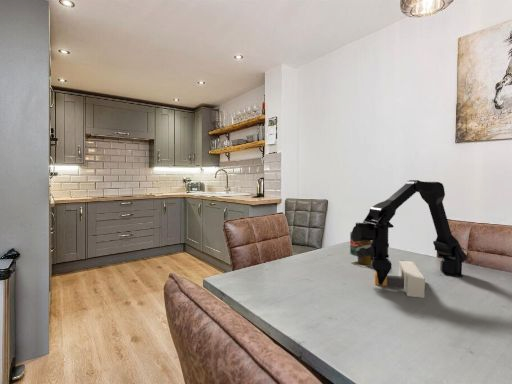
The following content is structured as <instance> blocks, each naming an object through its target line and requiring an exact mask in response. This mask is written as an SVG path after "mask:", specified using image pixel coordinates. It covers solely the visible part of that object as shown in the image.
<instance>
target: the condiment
mask: <svg viewBox="0 0 512 384" xmlns="http://www.w3.org/2000/svg"><path fill="white" fill-rule="evenodd" d="M370 244H371V240H370V241H359V243H358V247H362V246H366V245H370ZM351 264H353V265H356V266H358V267H363V268H367V267H370V266H371V267H372V260H371V259H370V256H366V257H363V258H360V259H359V258H358V257H357V261H354V262H351Z"/></svg>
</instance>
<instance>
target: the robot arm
mask: <svg viewBox="0 0 512 384" xmlns="http://www.w3.org/2000/svg"><path fill="white" fill-rule="evenodd" d="M416 193H418V194H419V195H420V197H421V199H422V200H423V201H424V202H425V203H426V204H427V205H428V209H429V212H430V216H431V219H432V223H433V225H434V229H435V232H436V239H435V240H433V241H432V245H434V251H436V253H437V255H438V257H439V258H441V260H440V265H439V266H440V271H441V273H442V274H443V275H444V276H452V277H464V274H463V273H462V271H463V263H464V262H466V261H467V259H468V255H467V253H465V251H464V250H463V249H462V246H461V243H460V242H459V240H458V239H457V238H456V237H455V236H454V235H453V234H452V231H451V228H450V227H451V226H450V224H449V221H448V217H447V213H446V210H445V206H444V203H443V201H444V199H445V196H446V191H445V186H444V184H443V183H442V182H439V181H421V180H419V179H417V180H416V179H411V180H407V181H406V182H405V184H404V185H403V186H402V187H400V188H399V189H397V191H395V192H394V193H393V194H392V195H391V196H389V197H388V198H387V199H386V200H383V201H381V202H378V203H376V204H374V205H373V206H371V207H370V208H369V211H368V213H367V215H366V217H365V218H364V219H363V221H362V222H355V225H354V226H353V228H352V230H351V232H352V236H353V238H354V240H355V241H370V240H371V244H370V245H366V246H362V247H358V248H356V252H357V255H356V256H357V259H358V258H359V259H360V258H363V257H366V256H370V259H371V260H372V265H371V268H372V270H374V272H375V271H376V272H377V277H378V283H379V285H378V286H383V285H382V284H383V282H384V280H385V278H386V276H387V275H389V273H390V271H392V266H393V265H392V262H391V260H390V259H389V258H390V255H389V247H390V243H389V228H390V229H391V228H394V225H393V224H392V223H391V220H392V218H394V216H395V215H396V213H397V212H396V211H397V210H398V208H399V207H401V206H402V205H403V204H404V203H406V202H407V201H408V200H409V199H410V198H411V197H413V196H414V195H415V194H416Z"/></svg>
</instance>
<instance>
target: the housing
mask: <svg viewBox="0 0 512 384" xmlns="http://www.w3.org/2000/svg"><path fill="white" fill-rule="evenodd" d="M398 276H401V277H404V287H403V290H404V291H405V293H406V294H405V295H407V297H414V298H423V299H424V298H425V286H426V285H425V282H426V281H425V277H424V276H423V274H422V273H421V271H420V270H419V268H418V267H417V266H416V264H415V262H414V261H409V260H408V261H407V260H406V261H405V260H398Z"/></svg>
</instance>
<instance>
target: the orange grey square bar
mask: <svg viewBox="0 0 512 384" xmlns="http://www.w3.org/2000/svg"><path fill="white" fill-rule="evenodd" d="M374 284H375V286H380V285H379V283H378V277H377V272H376V271H375V270H374ZM381 286H384V287H388V286H392V287H403V288H404V277H401V276H399V275H390V274H388V275H387V276H386V278H385V280H384V282H383V284H382V285H381Z"/></svg>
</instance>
